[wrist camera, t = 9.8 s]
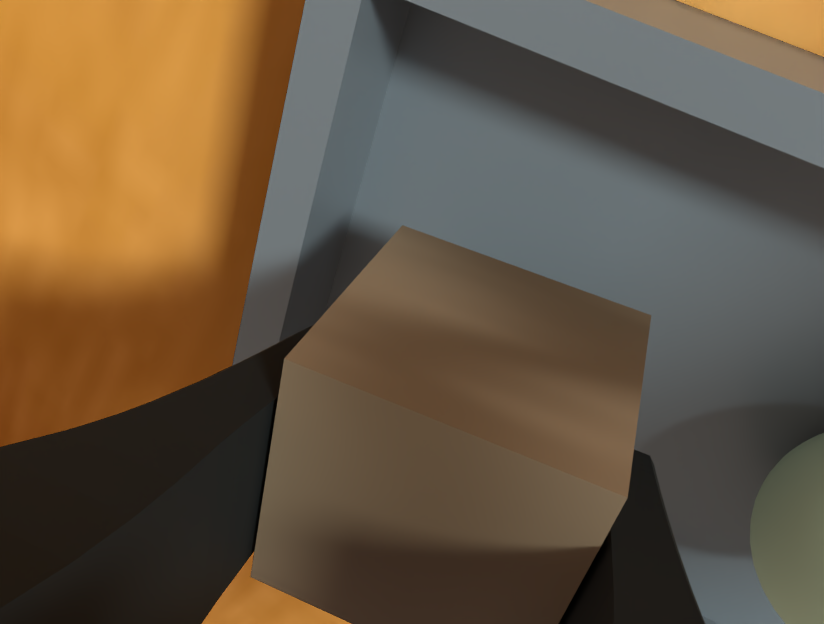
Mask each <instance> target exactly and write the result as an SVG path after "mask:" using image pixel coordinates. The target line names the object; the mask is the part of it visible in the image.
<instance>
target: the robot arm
mask: <svg viewBox="0 0 824 624" xmlns="http://www.w3.org/2000/svg"><path fill="white" fill-rule="evenodd" d="M313 326H314V325H312V326H310V327H308V328H306V329H304V330H302V331H300V332H298V333H296V334H294V335H292V336H290V337H288V338H286V339H284V340H282V341H280V342H278V343H276V344H274V345H273V346H271V347H269V348H267V349H265V350H263V351H261V352H259V353H257V354H255V355H253V356H251V357H249V358H247V359H245V360H243V361H241V362H239V363H237V364H235V365H233V366H231V367H228V368H226V369H224V370H222V371H220V372H218V373H216V374H214V375H212V376H210V377H208V378H205V379H203V380H201V381H199V382H197V383H194V384H192V385H190V386H187V387H185V388H182V389H180V390H178V391H175V392H173V393H171V394H168V395H166V396H163V397H161V398H159V399H156V400H154V401H151V402H149V403H146V404H144V405H141V406H138V407H136V408H133V409H130V410H128V411H125V412H122V413H119V414H117V415H114V416H110V417H107V418H104V419H101V420H98V421H95V422H92V423H89V424H86V425H82V426H79V427H76V428H72V429H69V430H65V431H61V432H58V433H54V434H50V435H46V436H42V437H38V438H34V439H30V440H26V441H22V442H18V443H14V444H10V445H6V446H2V447H0V624H201V623H202V622H203V621H204V619H205V618H206V616H207V615H208V613H209V612H210V610H211V609H212V607H213V606H214V604H215V603H216V602H217V600H218V599H219V597H220V596H221V595H222V593H223V592H224V591H225V589H226V588H227V587H228V585H229V584H230V583H231V581H232V580H233V579H234V577H235V576H236V575H237V573H238V572H239V571H240V569H241V568H242V567H243V565H244V564H245V563H246V561H247V560H248V559H249V557H250V556H251V555H252V553H253V552H254V551H255V545H256V538H257V532H258V525H259V519H260V512H261V506H262V499H263V493H264V486H265V480H266V473H267V467H268V460H269V454H270V447H271V441H272V434H273V428H274V421H275V415H276V408H277V402H278V395H279V389H280V382H281V376H282V369H283V363H284V358H285V357H286V356H287V355H288V354H289V353H290V352H291V350H292V349H293V348H294V347H295V346H296V345H297V344H298V342H299V341H300V340H301V339H302V338H303V337H304V336H305V335H306V333H307V332H308V331H309V330H310V329H311V328H312V327H313ZM558 624H705V622H704V619H703V617H702V614H701V612H700V609H699V607H698V604H697V601H696V599H695V596H694V593H693V591H692V588H691V585H690V582H689V579H688V576H687V574H686V571H685V568H684V565H683V562H682V559H681V556H680V554H679V551H678V548H677V544H676V541H675V538H674V535H673V532H672V528H671V525H670V522H669V518H668V515H667V512H666V508H665V505H664V501H663V497H662V494H661V490H660V486H659V482H658V478H657V474H656V470H655V466H654V463H653V461H652V459H651V457H650V455H647V454H645V453H642V452H640V451H637V450H635V449H634V453H633V461H632V468H631V476H630V484H629V492H628V498H627V500H626V502H625V504H624V505H623V507H622V509H621V511H620V513H619V514H618V516H617V518H616V520H615V522H614V524H613V525H612V527H611V529H610V531H609V533H608V534H607V536H606V538H605V540H604V542H603V544H602V545H601V547H600V549H599V551H598V553H597V554H596V556H595V558H594V560H593V562H592V563H591V565H590V567H589V569H588V571H587V573H586V574H585V576H584V578H583V580H582V582H581V583H580V585H579V587H578V589H577V591H576V593H575V594H574V596H573V598H572V600H571V602H570V603H569V605H568V607H567V609H566V611H565V613H564V614H563V616H562V618H561V620H560V622H559V623H558Z"/></svg>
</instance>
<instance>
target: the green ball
mask: <svg viewBox="0 0 824 624" xmlns="http://www.w3.org/2000/svg"><path fill="white" fill-rule="evenodd" d="M750 546H751V552H752V558H753V564H754V567H755V570H756V573H757V576H758V579H759V581H760V584H761V587H762V589H763V591H764V592H765V594H766V596H767V598H768V600H769V601H770V603H771V605H772V606H773V608H774V610H775V611H776V612H777V613H778V615H779V616H780V617H781V619H782V620H783V621H784V622H785V624H824V433H822V434H819V435H817V436H815V437H813V438H811V439H809V440H807V441H805V442H803V443H802V444H800V445H799V446H797V447H795V448H794V449H792V450H791V451H790V452H789V453H787V454H786V455H785V456H784V457H783V458H782V459H781V460H780V461H779V462H778V463H777V464H776V466H775V467H774V468H773V469H772V470H771V471H770V472H769V474H768V476H767V477H766V479H765V480H764V482H763V484H762V486H761V488H760V490H759V492H758V495H757V497H756V499H755V503H754V507H753V511H752V516H751V521H750Z"/></svg>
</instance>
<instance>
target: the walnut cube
mask: <svg viewBox="0 0 824 624" xmlns="http://www.w3.org/2000/svg"><path fill="white" fill-rule="evenodd" d="M650 322H651V315H649V314H646V313H644V312H641V311H638V310H635V309H633V308H630V307H627V306H624V305H622V304H619V303H616V302H613V301H611V300H608V299H605V298H602V297H599V296H597V295H594V294H591V293H588V292H586V291H583V290H580V289H577V288H575V287H572V286H569V285H566V284H564V283H561V282H558V281H555V280H553V279H550V278H547V277H544V276H541V275H539V274H536V273H533V272H530V271H528V270H525V269H522V268H519V267H517V266H514V265H511V264H508V263H506V262H503V261H500V260H497V259H495V258H492V257H489V256H486V255H483V254H481V253H478V252H475V251H472V250H470V249H467V248H464V247H461V246H459V245H456V244H453V243H450V242H448V241H445V240H442V239H439V238H437V237H434V236H431V235H428V234H426V233H423V232H420V231H417V230H414V229H412V228H409V227H406V226H403V225H402V226H401V227H400V229H399V230H398V231H397V232H396V233H395V234H394V235H393V236H392V238H391V239H390V240H389V241H388V242H387V243H386V244H385V245H384V247H383V248H382V249H381V250H380V251H379V252H378V253H377V255H376V256H375V257H374V258H373V259H372V260H371V261H370V262H369V264H368V265H367V266H366V267H365V268H364V269H363V270H362V271H361V273H360V274H359V275H358V276H357V277H356V278H355V279H354V280H353V282H352V283H351V284H350V285H349V286H348V287H347V288H346V289H345V291H344V292H343V293H342V294H341V295H340V296H339V297H338V299H337V300H336V301H335V302H334V303H333V304H332V305H331V306H330V308H329V309H328V310H327V311H326V312H325V313H324V314H323V315H322V317H321V318H320V319H319V320H318V321H317V322H316V323H315V324H314V326H313V327H312V328H311V329H310V330H309V331H308V332H307V333H306V335H305V336H304V337H303V338H302V339H301V340H300V341H299V342H298V344H297V345H296V346H295V347H294V348H293V349H292V350H291V352H290V353H289V354H288V355H287V356H286V357H285V358H284V363H283V369H282V376H281V382H280V389H279V395H278V402H277V408H276V415H275V421H274V428H273V434H272V441H271V447H270V454H269V460H268V467H267V473H266V480H265V486H264V493H263V499H262V506H261V512H260V519H259V525H258V532H257V538H256V545H255V551H254V558H253V564H252V571H251V577H252V578H254V579H256V580H258V581H260V582H263V583H265V584H267V585H269V586H271V587H273V588H276V589H278V590H280V591H282V592H284V593H286V594H289V595H291V596H293V597H295V598H297V599H299V600H302V601H304V602H306V603H308V604H310V605H313V606H315V607H317V608H319V609H321V610H323V611H326V612H328V613H330V614H332V615H334V616H336V617H339V618H341V619H343V620H345V621H347V622H349V623H352V624H558V623H559V622H560V620H561V618H562V616H563V614H564V613H565V611H566V609H567V607H568V605H569V603H570V602H571V600H572V598H573V596H574V594H575V593H576V591H577V589H578V587H579V585H580V583H581V582H582V580H583V578H584V576H585V574H586V573H587V571H588V569H589V567H590V565H591V563H592V562H593V560H594V558H595V556H596V554H597V553H598V551H599V549H600V547H601V545H602V544H603V542H604V540H605V538H606V536H607V534H608V533H609V531H610V529H611V527H612V525H613V524H614V522H615V520H616V518H617V516H618V514H619V513H620V511H621V509H622V507H623V505H624V504H625V502H626V500H627V498H628V492H629V484H630V476H631V468H632V461H633V453H634V445H635V438H636V430H637V422H638V414H639V407H640V399H641V391H642V384H643V376H644V368H645V360H646V353H647V345H648V337H649V330H650Z"/></svg>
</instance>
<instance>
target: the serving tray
mask: <svg viewBox="0 0 824 624" xmlns="http://www.w3.org/2000/svg"><path fill="white" fill-rule="evenodd" d="M402 225H403V226H406V227H409V228H412V229H414V230H417V231H420V232H423V233H426V234H428V235H431V236H434V237H437V238H439V239H442V240H445V241H448V242H450V243H453V244H456V245H459V246H461V247H464V248H467V249H470V250H472V251H475V252H478V253H481V254H483V255H486V256H489V257H492V258H495V259H497V260H500V261H503V262H506V263H508V264H511V265H514V266H517V267H519V268H522V269H525V270H528V271H530V272H533V273H536V274H539V275H541V276H544V277H547V278H550V279H553V280H555V281H558V282H561V283H564V284H566V285H569V286H572V287H575V288H577V289H580V290H583V291H586V292H588V293H591V294H594V295H597V296H599V297H602V298H605V299H608V300H611V301H613V302H616V303H619V304H622V305H624V306H627V307H630V308H633V309H635V310H638V311H641V312H644V313H646V314H649V315H651V322H650V330H649V337H648V345H647V353H646V360H645V368H644V376H643V384H642V391H641V399H640V407H639V414H638V422H637V430H636V438H635V445H634V449H635V450H637V451H640V452H642V453H645V454H647V455H650V457H651V459H652V461H653V463H654V466H655V470H656V474H657V478H658V482H659V486H660V490H661V494H662V497H663V501H664V505H665V508H666V512H667V515H668V518H669V522H670V525H671V528H672V532H673V535H674V538H675V541H676V544H677V548H678V551H679V554H680V556H681V559H682V562H683V565H684V568H685V571H686V574H687V576H688V579H689V582H690V585H691V588H692V591H693V593H694V596H695V599H696V601H697V604H698V607H699V609H700V612H701V614H702V617H703V619H704V622H705V624H785V622H784V621H783V620H782V619H781V617H780V616H779V615H778V613H777V612H776V611H775V610H774V608H773V606H772V605H771V603H770V601H769V600H768V598H767V596H766V594H765V592H764V591H763V589H762V587H761V584H760V581H759V579H758V576H757V573H756V570H755V567H754V564H753V558H752V552H751V546H750V521H751V516H752V511H753V507H754V503H755V499H756V497H757V495H758V492H759V490H760V488H761V486H762V484H763V482H764V480H765V479H766V477H767V476H768V474H769V472H770V471H771V470H772V469H773V468H774V467H775V466H776V464H777V463H778V462H779V461H780V460H781V459H782V458H783V457H784V456H785V455H786V454H787V453H789V452H790V451H791V450H792V449H794V448H795V447H797V446H799V445H800V444H802V443H803V442H805V441H807V440H809V439H811V438H813V437H815V436H817V435H819V434H822V433H824V57H822V56H819V55H817V54H814V53H811V52H809V51H806V50H804V49H801V48H798V47H796V46H793V45H791V44H788V43H785V42H783V41H780V40H778V39H775V38H772V37H770V36H767V35H765V34H762V33H759V32H757V31H754V30H752V29H749V28H746V27H744V26H741V25H739V24H736V23H733V22H731V21H728V20H726V19H723V18H720V17H718V16H715V15H712V14H710V13H707V12H705V11H702V10H699V9H697V8H694V7H692V6H689V5H686V4H684V3H681V2H679V1H676V0H305V4H304V9H303V14H302V19H301V24H300V29H299V34H298V39H297V44H296V49H295V54H294V59H293V64H292V69H291V74H290V79H289V84H288V89H287V94H286V99H285V104H284V109H283V114H282V119H281V124H280V129H279V134H278V139H277V144H276V149H275V154H274V159H273V164H272V169H271V174H270V179H269V184H268V189H267V194H266V199H265V204H264V209H263V214H262V219H261V224H260V229H259V234H258V239H257V244H256V249H255V254H254V259H253V264H252V269H251V274H250V279H249V284H248V289H247V294H246V299H245V304H244V309H243V314H242V319H241V324H240V329H239V334H238V339H237V344H236V349H235V354H234V359H233V364H232V366H233V365H235V364H237V363H239V362H241V361H243V360H245V359H247V358H249V357H251V356H253V355H255V354H257V353H259V352H261V351H263V350H265V349H267V348H269V347H271V346H273V345H274V344H276V343H278V342H280V341H282V340H284V339H286V338H288V337H290V336H292V335H294V334H296V333H298V332H300V331H302V330H304V329H306V328H308V327H310V326H312V325H314V324H315V323H316V322H317V321H318V320H319V319H320V318H321V317H322V315H323V314H324V313H325V312H326V311H327V310H328V309H329V308H330V306H331V305H332V304H333V303H334V302H335V301H336V300H337V299H338V297H339V296H340V295H341V294H342V293H343V292H344V291H345V289H346V288H347V287H348V286H349V285H350V284H351V283H352V282H353V280H354V279H355V278H356V277H357V276H358V275H359V274H360V273H361V271H362V270H363V269H364V268H365V267H366V266H367V265H368V264H369V262H370V261H371V260H372V259H373V258H374V257H375V256H376V255H377V253H378V252H379V251H380V250H381V249H382V248H383V247H384V245H385V244H386V243H387V242H388V241H389V240H390V239H391V238H392V236H393V235H394V234H395V233H396V232H397V231H398V230H399V229H400V227H401V226H402Z"/></svg>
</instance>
